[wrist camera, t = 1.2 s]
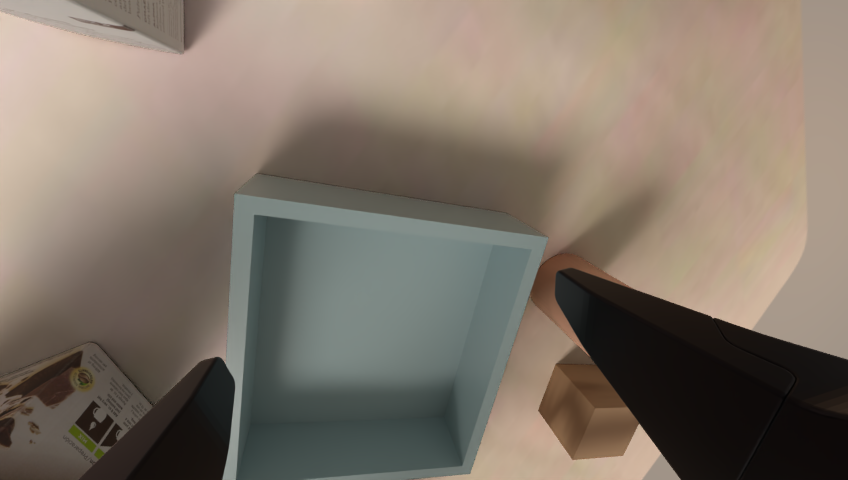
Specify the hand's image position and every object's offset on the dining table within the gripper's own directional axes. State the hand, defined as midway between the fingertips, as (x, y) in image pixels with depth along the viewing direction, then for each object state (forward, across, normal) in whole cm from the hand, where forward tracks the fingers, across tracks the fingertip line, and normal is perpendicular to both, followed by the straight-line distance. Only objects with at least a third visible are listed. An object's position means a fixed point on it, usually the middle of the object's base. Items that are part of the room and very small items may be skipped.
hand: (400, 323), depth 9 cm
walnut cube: (+12, -14, +22) cm, 29 cm away
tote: (+12, +2, +10) cm, 16 cm away
